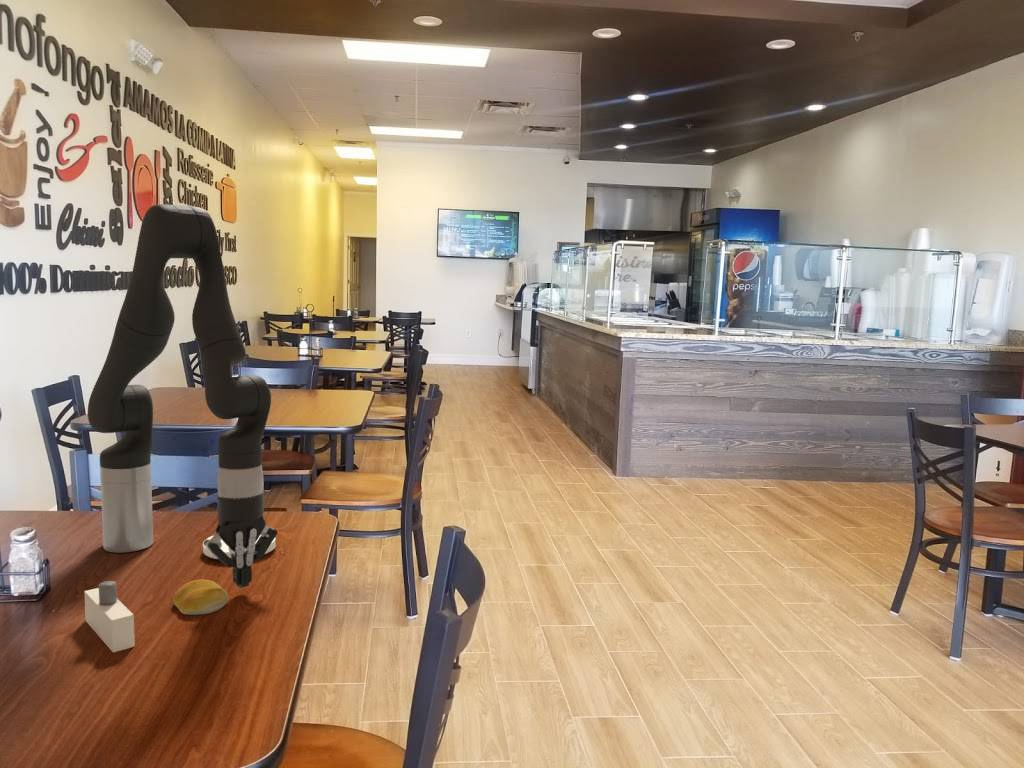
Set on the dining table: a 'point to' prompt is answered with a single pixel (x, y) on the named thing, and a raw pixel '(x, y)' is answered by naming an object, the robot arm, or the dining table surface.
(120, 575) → the dining table surface
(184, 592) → the bread roll
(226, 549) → the plastic lid
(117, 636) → the bench stop
